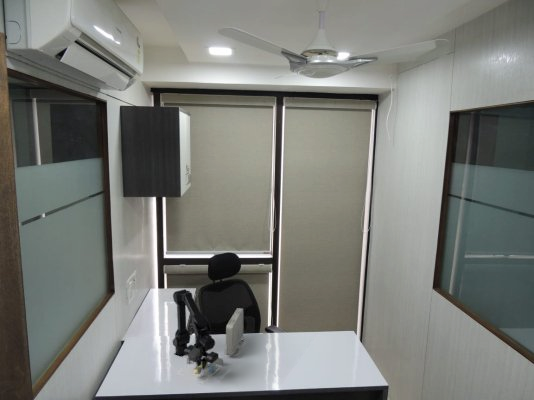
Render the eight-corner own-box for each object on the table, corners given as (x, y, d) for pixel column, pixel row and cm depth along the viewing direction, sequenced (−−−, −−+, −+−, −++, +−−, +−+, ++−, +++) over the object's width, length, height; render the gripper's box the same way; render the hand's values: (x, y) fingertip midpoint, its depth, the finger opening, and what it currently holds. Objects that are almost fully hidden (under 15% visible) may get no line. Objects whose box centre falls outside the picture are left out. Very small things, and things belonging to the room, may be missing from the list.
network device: (236, 360, 198) (236, 327, 196) (221, 358, 200) (221, 326, 197) (246, 337, 223) (246, 308, 221) (233, 336, 225) (233, 306, 222)
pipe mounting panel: (174, 375, 185) (173, 366, 184) (195, 357, 201) (195, 348, 200) (202, 385, 176) (202, 376, 175) (223, 366, 192) (222, 357, 192)
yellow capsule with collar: (197, 375, 178) (196, 371, 178) (192, 374, 179) (192, 369, 179) (209, 364, 188) (209, 360, 188) (205, 362, 189) (205, 358, 189)
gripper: (176, 344, 179) (177, 371, 181) (205, 353, 170) (206, 382, 172) (190, 334, 189) (191, 360, 191) (218, 342, 180) (219, 370, 182)
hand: (201, 368), depth 184 cm, fingers closed on yellow capsule with collar, 2 cm apart
